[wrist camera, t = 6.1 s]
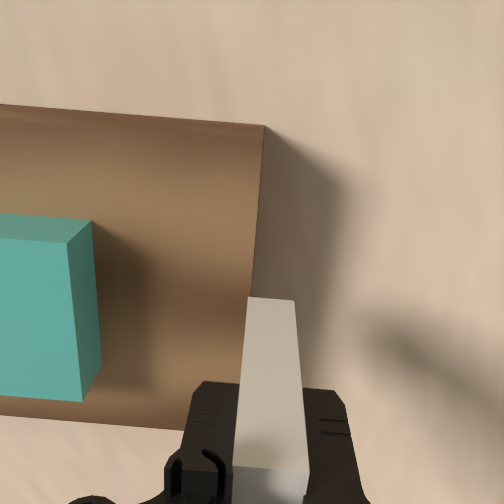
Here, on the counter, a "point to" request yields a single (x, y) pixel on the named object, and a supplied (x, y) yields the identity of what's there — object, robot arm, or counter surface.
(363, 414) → the counter surface
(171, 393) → the brown wooden slab
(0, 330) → the rectangular block
